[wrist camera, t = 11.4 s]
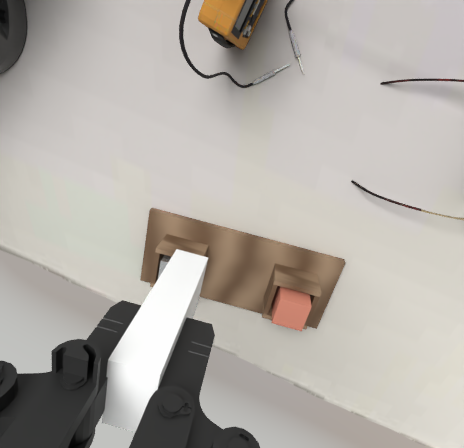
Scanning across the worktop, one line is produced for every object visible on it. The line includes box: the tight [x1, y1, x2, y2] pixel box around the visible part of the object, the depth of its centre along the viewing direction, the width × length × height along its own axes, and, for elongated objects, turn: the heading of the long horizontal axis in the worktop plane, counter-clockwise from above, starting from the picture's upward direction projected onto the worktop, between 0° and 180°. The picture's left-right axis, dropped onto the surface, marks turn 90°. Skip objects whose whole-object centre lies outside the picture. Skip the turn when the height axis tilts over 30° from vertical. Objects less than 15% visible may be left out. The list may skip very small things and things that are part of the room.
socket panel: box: [141, 208, 345, 329], centre depth 47 cm, size 28×12×6 cm, turn 77°
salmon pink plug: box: [272, 286, 311, 331], centre depth 44 cm, size 4×4×5 cm
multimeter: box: [179, 0, 304, 88], centre depth 27 cm, size 15×10×20 cm
